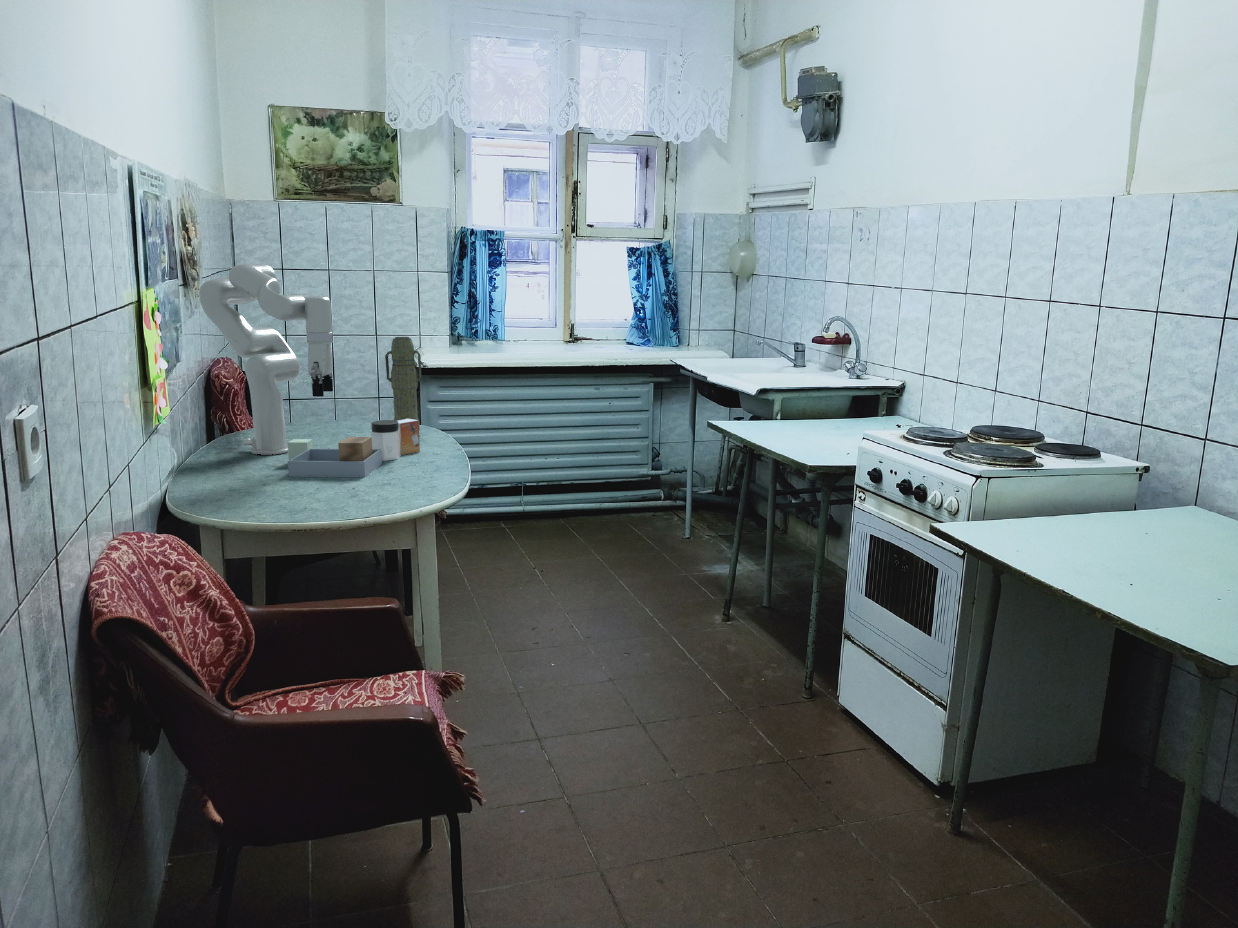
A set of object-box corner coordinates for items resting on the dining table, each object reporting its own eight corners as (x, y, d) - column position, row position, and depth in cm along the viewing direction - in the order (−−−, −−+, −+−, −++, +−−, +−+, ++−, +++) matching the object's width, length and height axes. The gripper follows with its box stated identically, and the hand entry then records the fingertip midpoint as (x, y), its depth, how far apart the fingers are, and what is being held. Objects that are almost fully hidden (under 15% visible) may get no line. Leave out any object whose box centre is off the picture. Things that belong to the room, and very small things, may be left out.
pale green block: (289, 464, 277) (287, 442, 276) (295, 461, 282) (293, 439, 281) (308, 464, 277) (306, 442, 276) (314, 461, 282) (312, 439, 280)
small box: (401, 455, 290) (399, 423, 287) (389, 453, 293) (388, 421, 291) (420, 451, 296) (419, 420, 294) (409, 449, 299) (407, 418, 297)
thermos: (388, 435, 321) (383, 336, 313) (422, 434, 325) (418, 335, 317) (390, 440, 313) (384, 338, 305) (425, 438, 316) (420, 338, 309)
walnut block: (340, 473, 263) (338, 442, 261) (350, 466, 272) (348, 436, 270) (364, 473, 263) (362, 443, 261) (373, 466, 271) (371, 437, 269)
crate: (289, 478, 259) (287, 461, 258) (310, 465, 276) (309, 448, 275) (365, 479, 259) (364, 461, 258) (382, 466, 276) (381, 449, 274)
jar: (377, 464, 278) (374, 425, 275) (368, 459, 285) (366, 421, 282) (405, 460, 283) (403, 422, 280) (396, 455, 289) (394, 418, 287)
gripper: (316, 335, 283) (319, 389, 287) (297, 340, 266) (301, 398, 270) (340, 335, 283) (343, 389, 287) (323, 341, 266) (327, 398, 270)
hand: (323, 393), depth 279 cm, fingers open, 9 cm apart
